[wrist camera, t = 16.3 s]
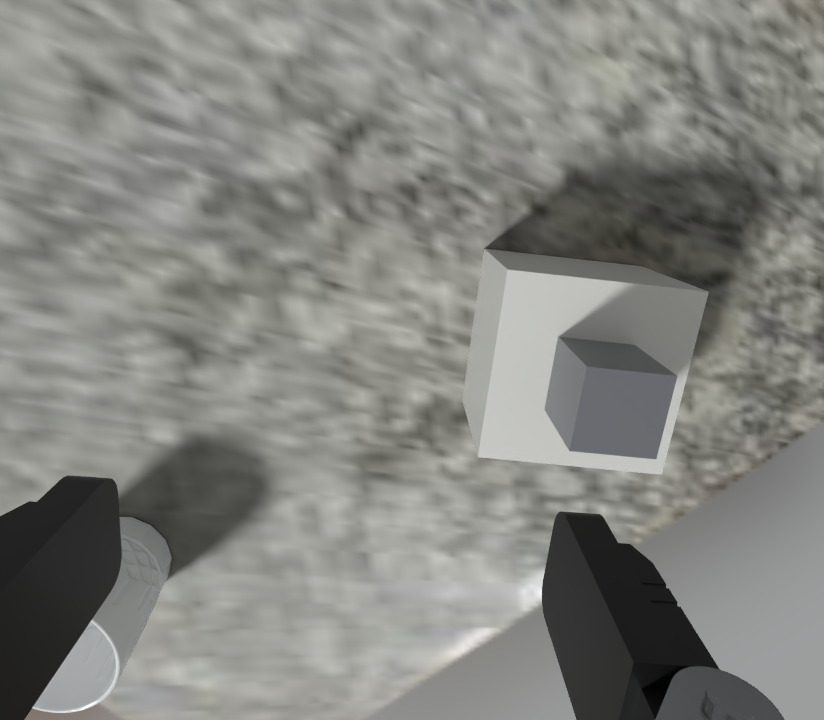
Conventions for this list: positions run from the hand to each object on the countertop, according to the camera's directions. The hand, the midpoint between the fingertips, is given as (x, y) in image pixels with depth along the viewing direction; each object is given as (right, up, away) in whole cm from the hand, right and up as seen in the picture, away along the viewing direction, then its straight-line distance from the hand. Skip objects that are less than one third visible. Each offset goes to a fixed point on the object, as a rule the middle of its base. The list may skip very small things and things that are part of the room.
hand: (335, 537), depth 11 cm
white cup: (-20, -11, +33) cm, 40 cm away
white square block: (+10, +5, +29) cm, 31 cm away
